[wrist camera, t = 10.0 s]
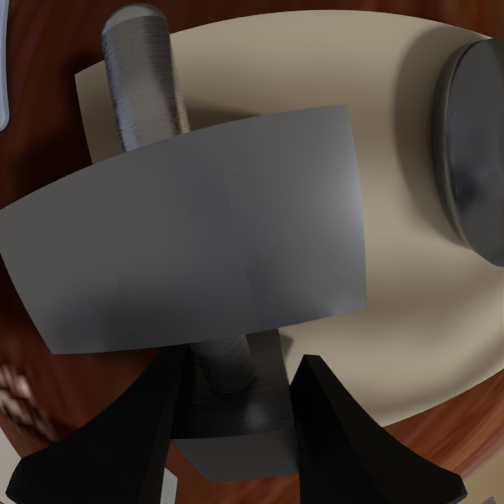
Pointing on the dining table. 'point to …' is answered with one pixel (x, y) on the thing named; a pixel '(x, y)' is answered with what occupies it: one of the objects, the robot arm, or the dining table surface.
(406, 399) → the board
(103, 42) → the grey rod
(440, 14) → the dining table surface
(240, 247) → the block
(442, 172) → the handwheel
